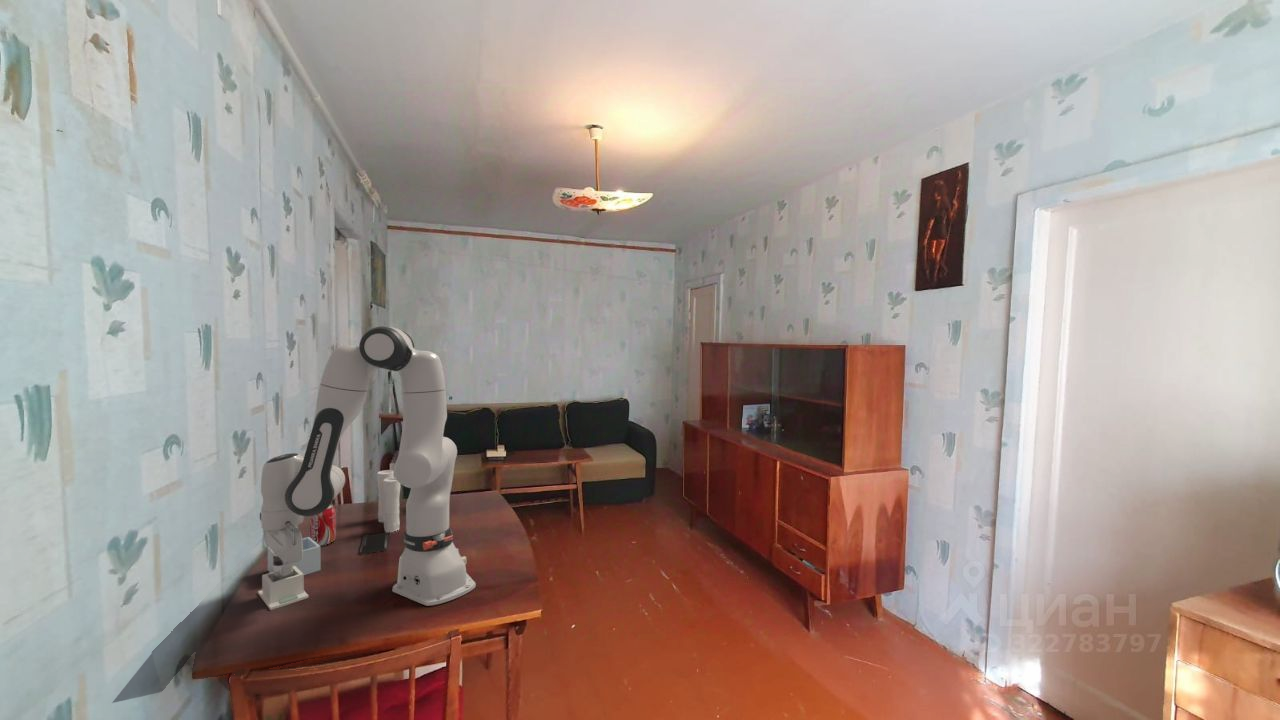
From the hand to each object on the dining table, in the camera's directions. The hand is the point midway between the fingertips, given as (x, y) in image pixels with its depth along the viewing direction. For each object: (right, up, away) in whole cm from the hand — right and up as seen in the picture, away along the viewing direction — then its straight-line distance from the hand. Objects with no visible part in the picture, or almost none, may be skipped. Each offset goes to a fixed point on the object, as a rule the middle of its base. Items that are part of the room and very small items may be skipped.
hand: (283, 570), depth 126 cm
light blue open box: (-7, -6, +14) cm, 17 cm away
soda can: (-11, -6, +33) cm, 36 cm away
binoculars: (+1, -5, +50) cm, 50 cm away
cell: (0, -4, 0) cm, 4 cm away
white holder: (0, -7, 0) cm, 7 cm away
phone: (+6, -6, +33) cm, 34 cm away
